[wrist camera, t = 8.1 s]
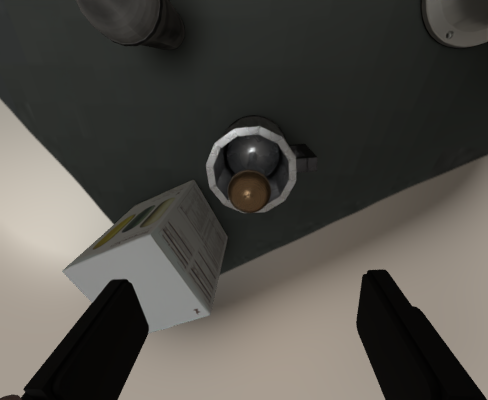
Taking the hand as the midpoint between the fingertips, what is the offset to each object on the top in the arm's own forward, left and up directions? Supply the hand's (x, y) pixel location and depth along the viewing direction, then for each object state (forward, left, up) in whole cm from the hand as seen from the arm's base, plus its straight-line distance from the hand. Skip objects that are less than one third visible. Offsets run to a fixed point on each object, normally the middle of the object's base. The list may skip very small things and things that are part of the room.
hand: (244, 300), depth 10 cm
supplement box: (+15, +13, -30) cm, 36 cm away
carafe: (-1, 0, -30) cm, 30 cm away
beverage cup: (+10, -17, -30) cm, 36 cm away
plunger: (0, 0, -27) cm, 27 cm away
